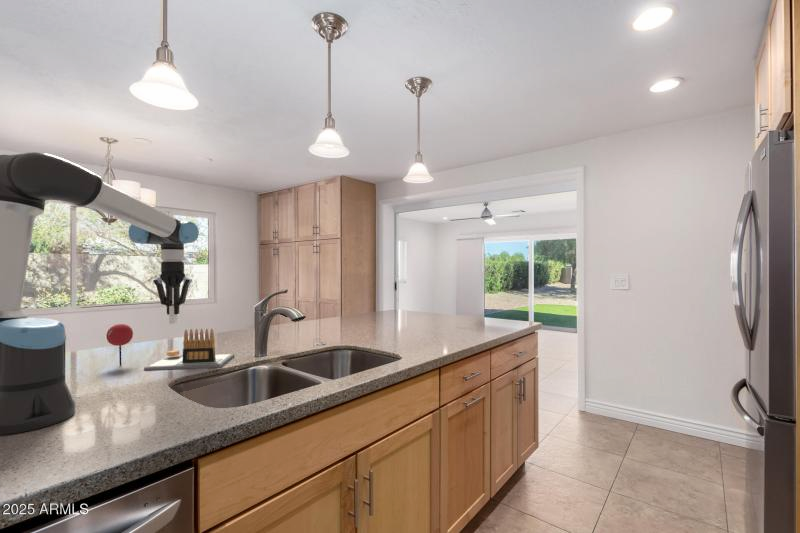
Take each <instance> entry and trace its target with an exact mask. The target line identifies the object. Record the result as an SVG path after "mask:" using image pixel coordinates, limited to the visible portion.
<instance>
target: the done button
mask: <svg viewBox="0 0 800 533" xmlns="http://www.w3.org/2000/svg"><path fill="white" fill-rule="evenodd" d="M166 356H180V350H178V349H177V350H169V351H167V352H166Z"/></svg>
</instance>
